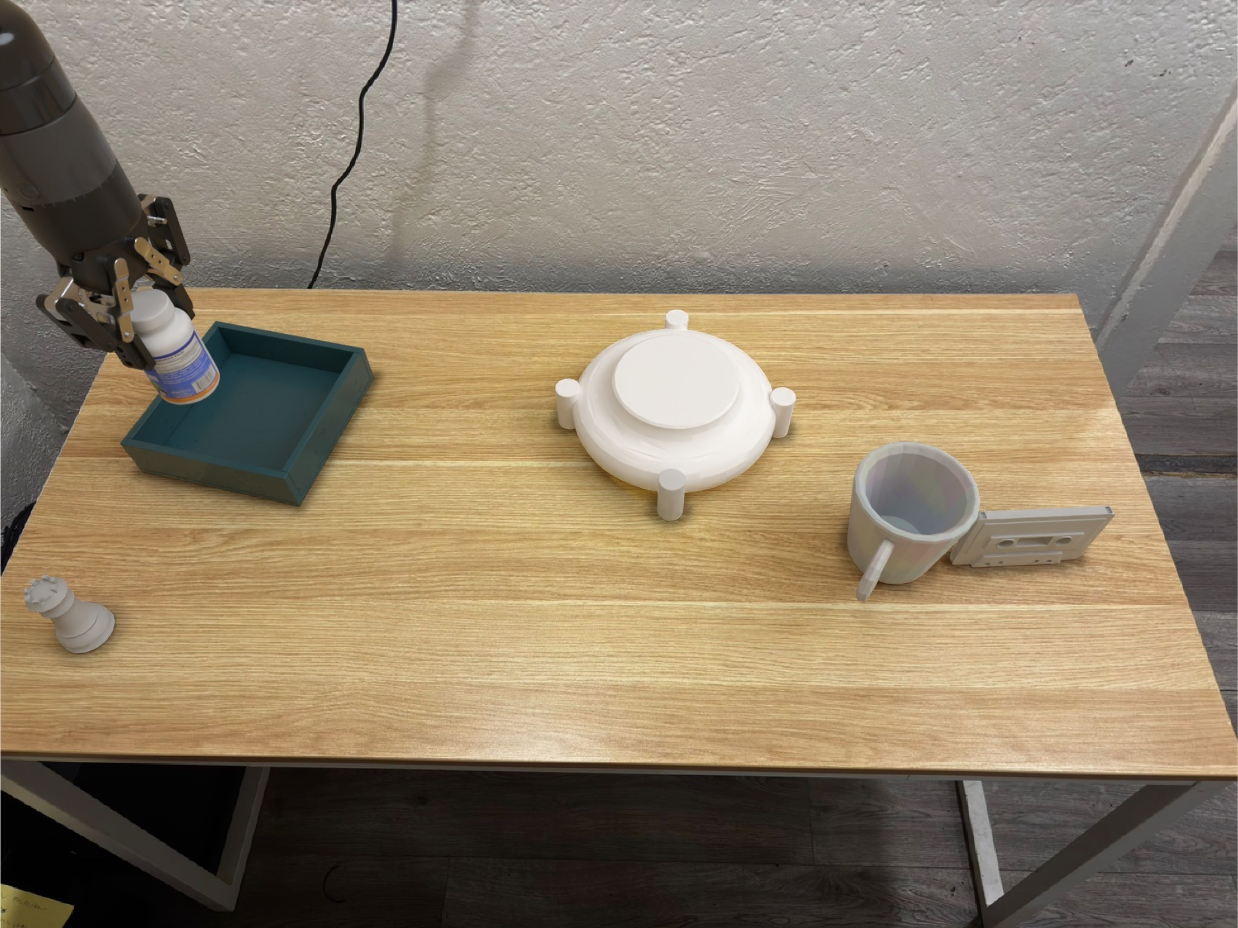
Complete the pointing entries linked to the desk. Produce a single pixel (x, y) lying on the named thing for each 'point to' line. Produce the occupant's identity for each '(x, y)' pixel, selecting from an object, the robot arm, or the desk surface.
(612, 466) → the round stand with pegs
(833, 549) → the desk surface
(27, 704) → the desk surface
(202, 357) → the pill bottle
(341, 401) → the shallow teal tray
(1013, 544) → the cassette
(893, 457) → the mug
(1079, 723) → the desk surface
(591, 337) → the desk surface
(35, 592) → the rook chess piece
